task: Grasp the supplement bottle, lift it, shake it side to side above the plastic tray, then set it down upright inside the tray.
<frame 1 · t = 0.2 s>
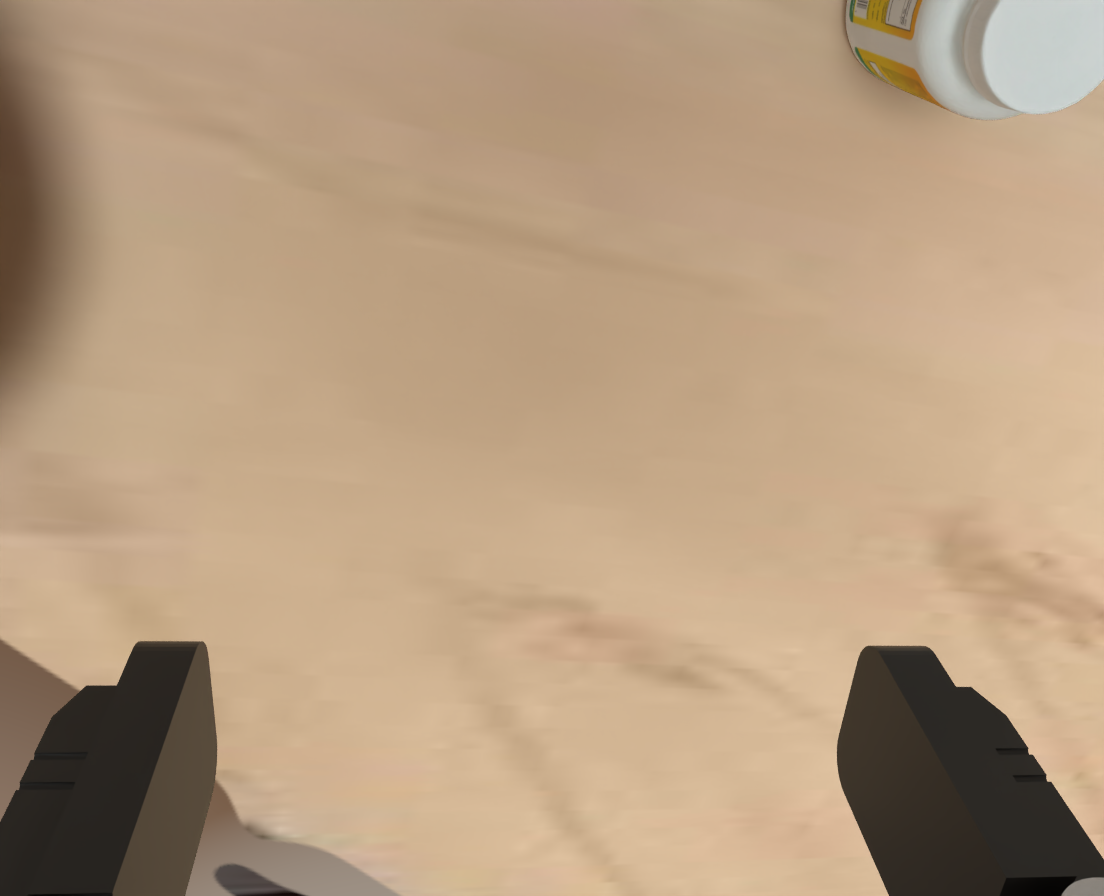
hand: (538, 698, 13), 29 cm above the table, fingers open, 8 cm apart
supplement bottle: (914, 6, 37), on the table
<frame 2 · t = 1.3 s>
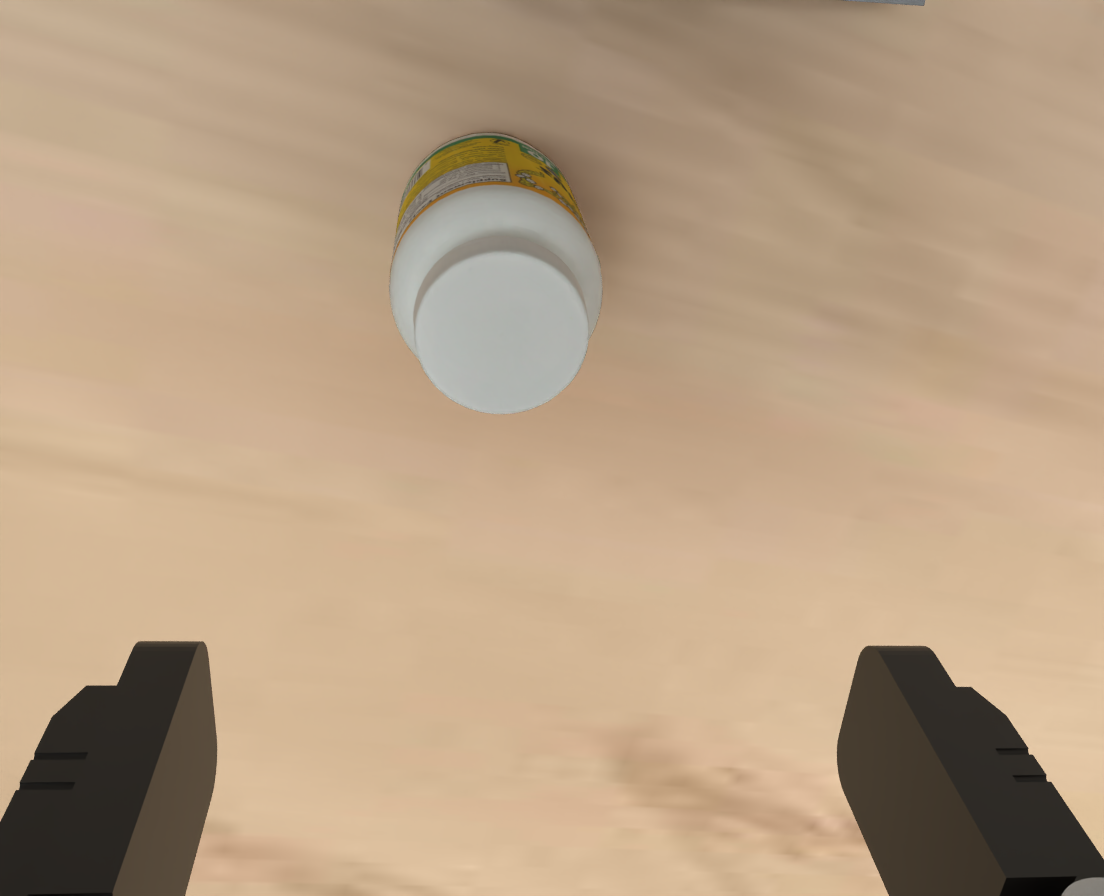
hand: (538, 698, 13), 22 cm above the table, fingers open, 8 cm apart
supplement bottle: (488, 218, 32), on the table
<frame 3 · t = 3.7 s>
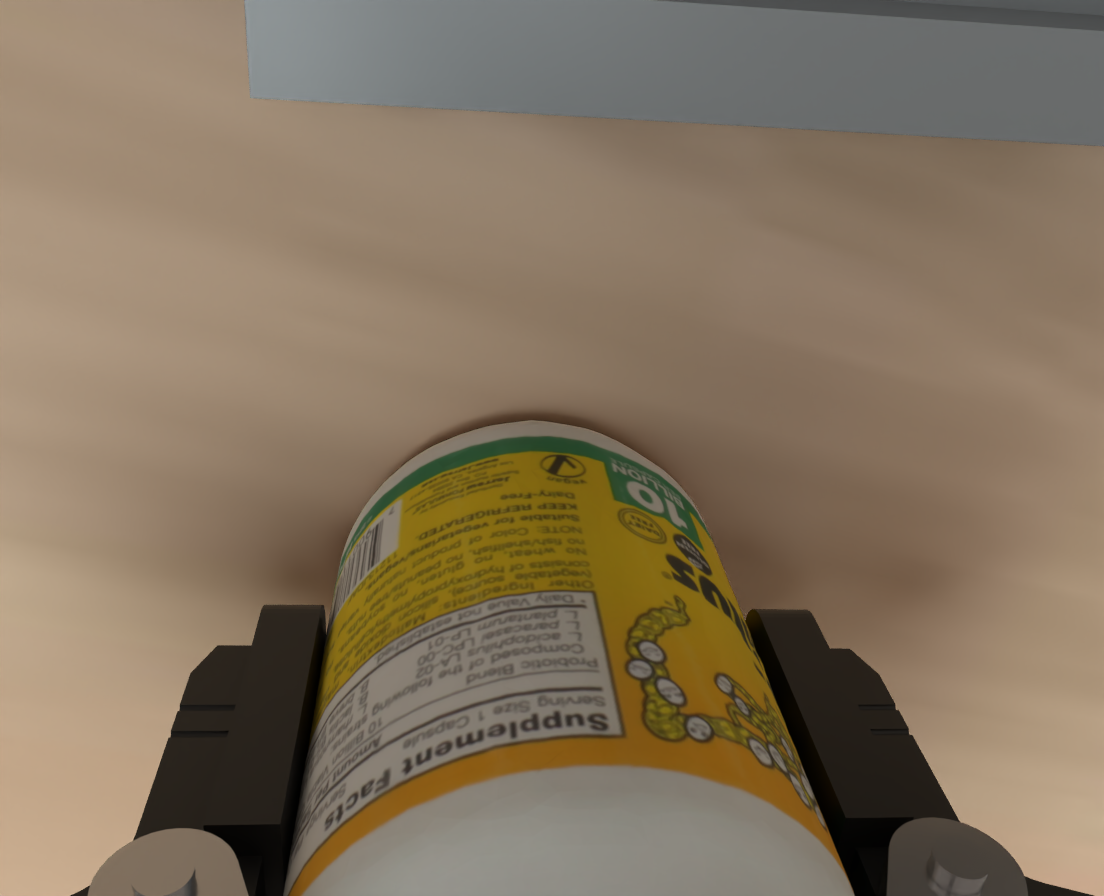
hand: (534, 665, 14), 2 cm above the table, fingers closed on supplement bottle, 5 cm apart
supplement bottle: (527, 568, 15), on the table, touching gripper
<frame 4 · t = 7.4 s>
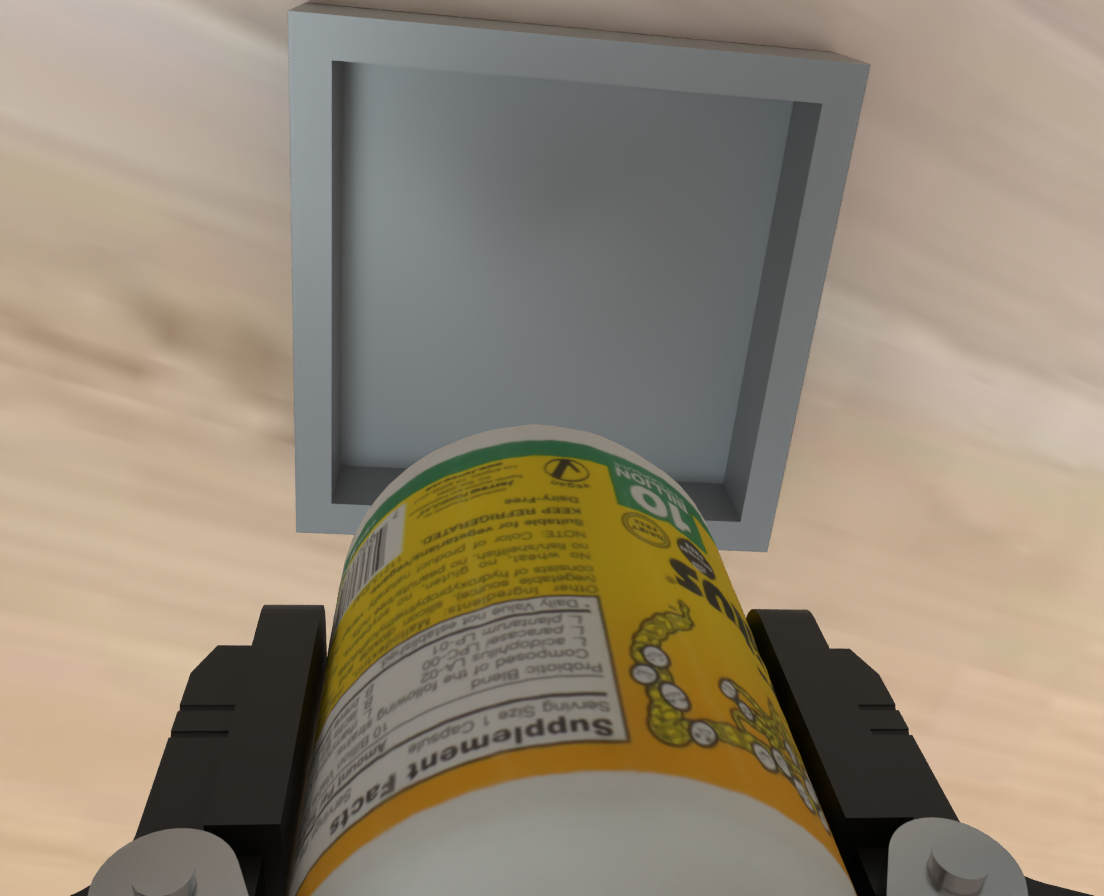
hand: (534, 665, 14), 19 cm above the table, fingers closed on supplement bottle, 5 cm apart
tray: (551, 283, 31), on the table
supplement bottle: (531, 571, 16), point 17 cm above the table, touching gripper
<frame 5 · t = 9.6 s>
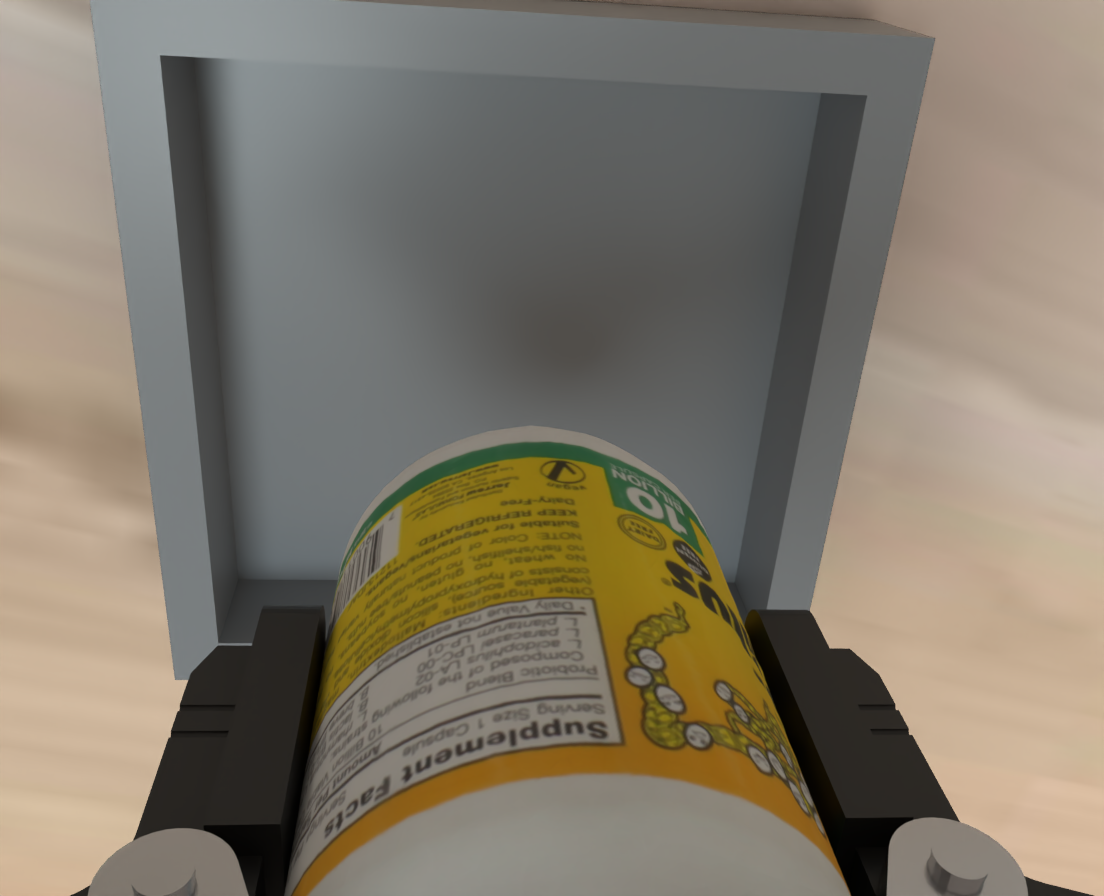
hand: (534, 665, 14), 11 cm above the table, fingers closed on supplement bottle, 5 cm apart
tray: (502, 340, 23), on the table
supplement bottle: (527, 573, 15), point 9 cm above the table, touching gripper
when the fingers open (4 cm above the table, at t = 11.4 s): supplement bottle drops 1 cm, resting on tray.
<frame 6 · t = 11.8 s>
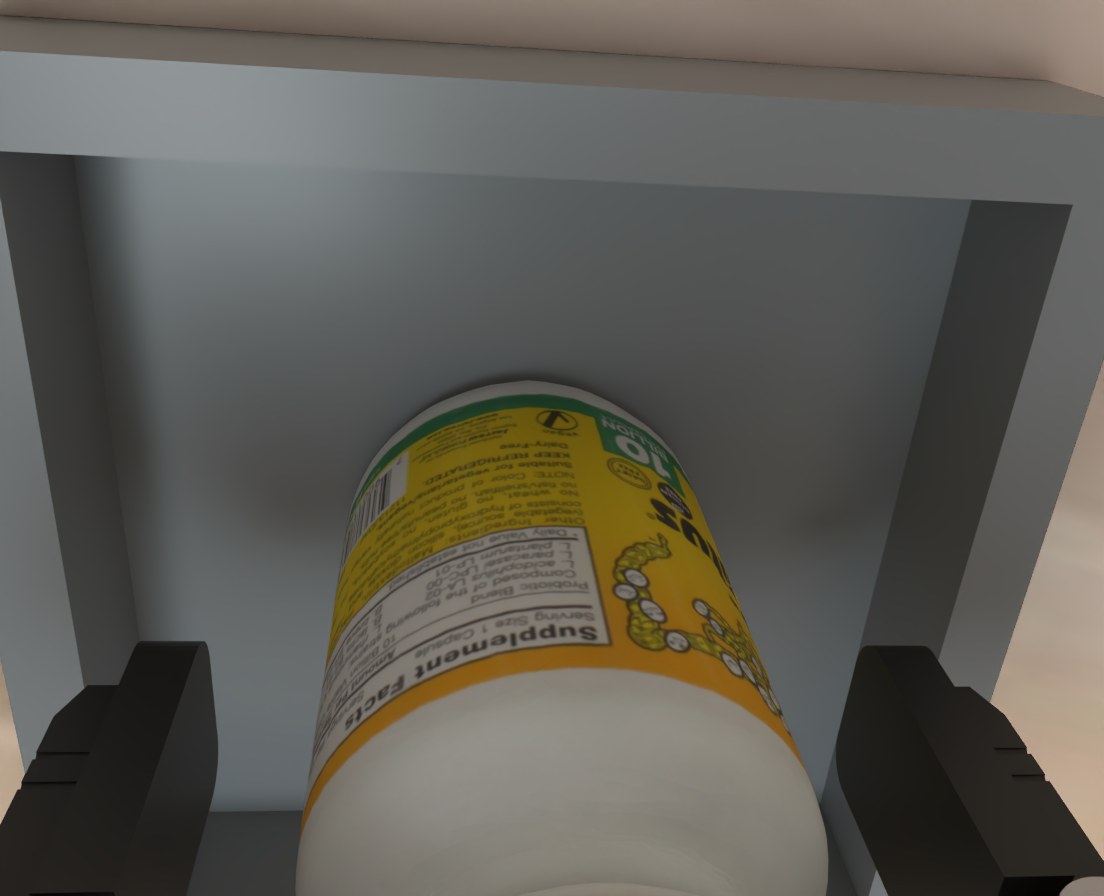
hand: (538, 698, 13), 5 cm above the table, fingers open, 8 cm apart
tray: (518, 508, 17), on the table
supplement bottle: (523, 521, 17), resting on tray
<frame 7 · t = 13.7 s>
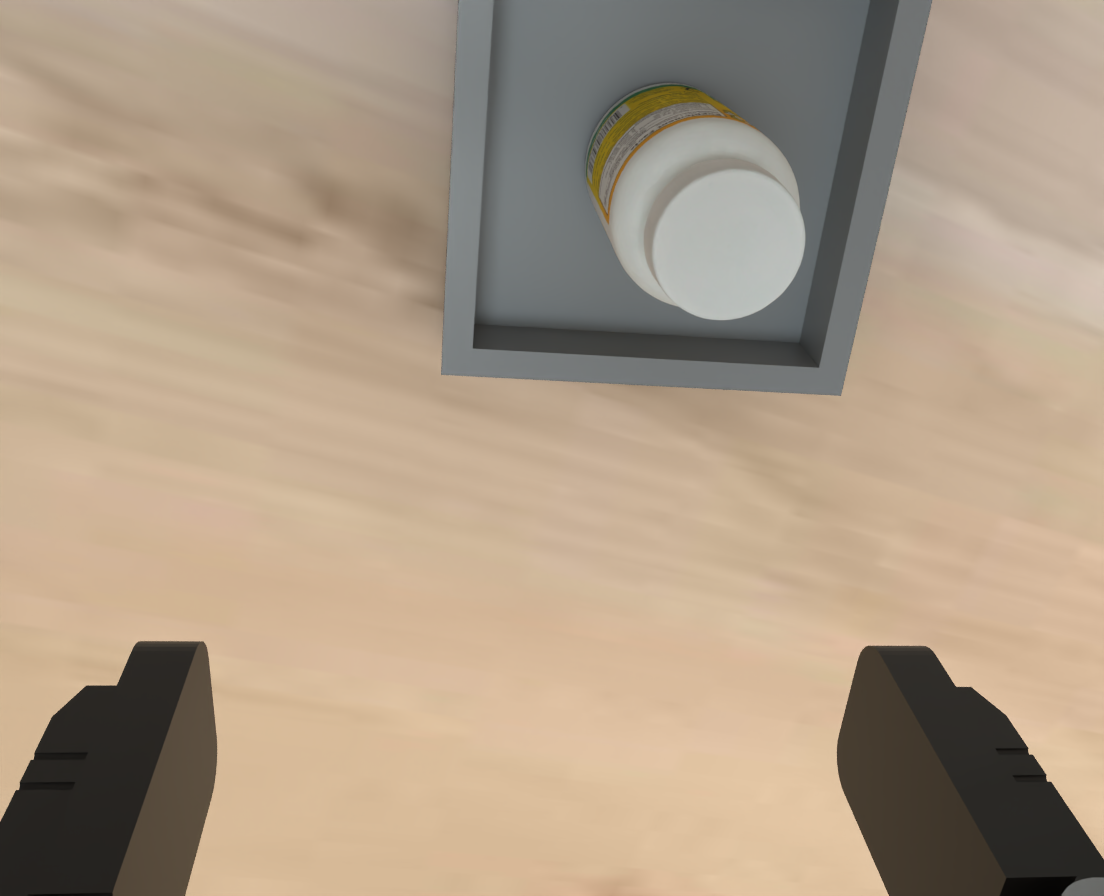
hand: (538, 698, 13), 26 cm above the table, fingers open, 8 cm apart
tray: (657, 161, 36), on the table
supplement bottle: (661, 163, 35), resting on tray
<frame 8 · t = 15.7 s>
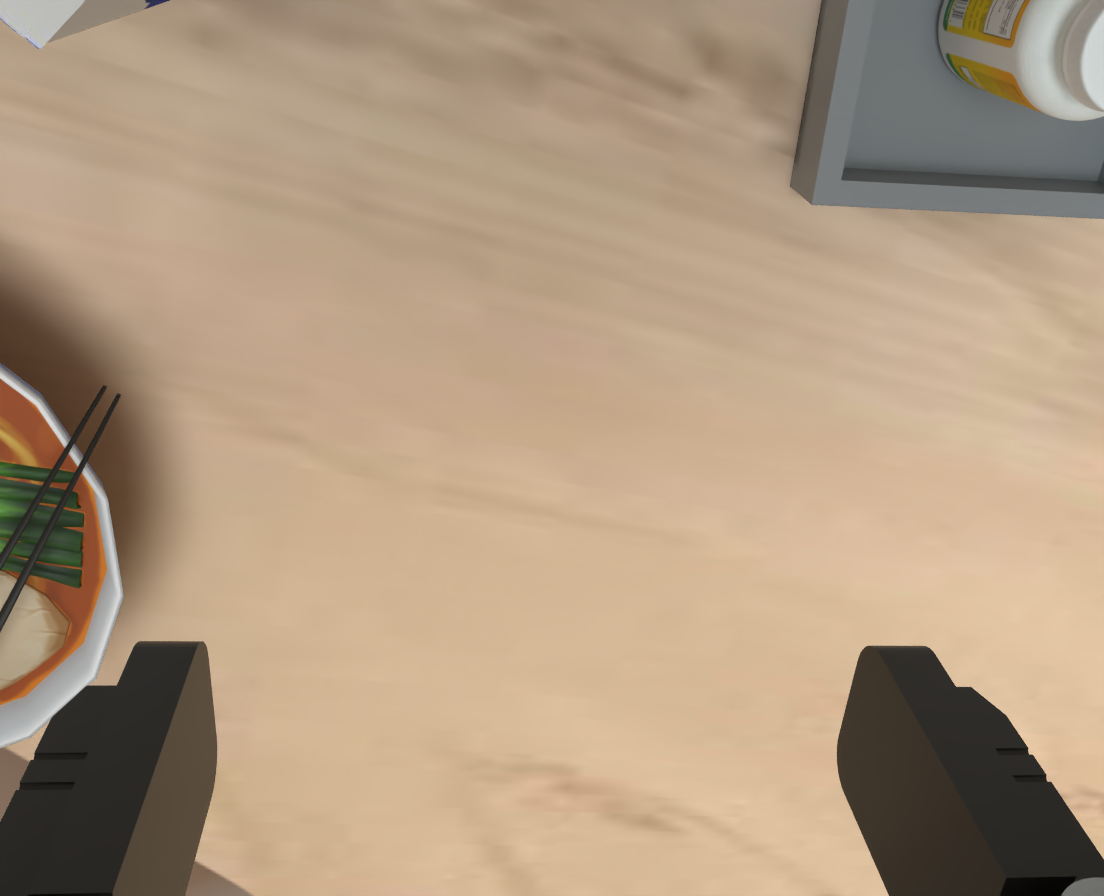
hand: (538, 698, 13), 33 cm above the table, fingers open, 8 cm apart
tray: (992, 17, 42), on the table
supplement bottle: (998, 18, 41), resting on tray
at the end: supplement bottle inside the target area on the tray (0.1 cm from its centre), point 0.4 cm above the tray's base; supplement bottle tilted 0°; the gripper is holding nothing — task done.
